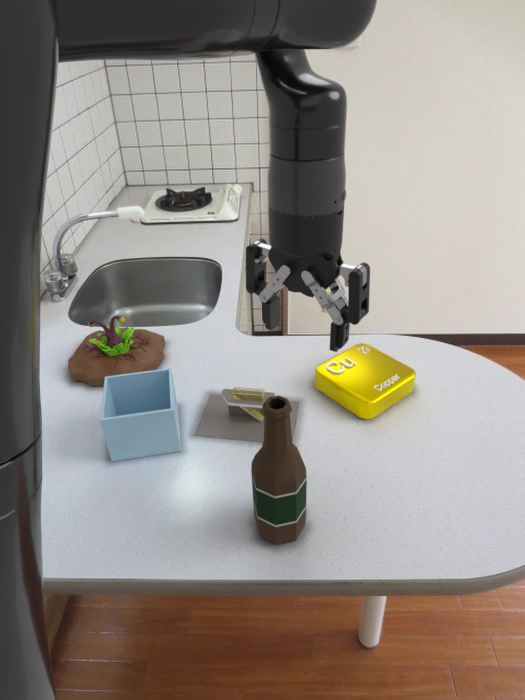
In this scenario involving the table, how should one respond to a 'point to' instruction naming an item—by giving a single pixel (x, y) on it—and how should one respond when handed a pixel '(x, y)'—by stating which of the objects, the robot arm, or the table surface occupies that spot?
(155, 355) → the plant
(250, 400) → the platform
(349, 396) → the element tile
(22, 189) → the robot arm
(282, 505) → the beer bottle
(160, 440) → the case
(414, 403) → the table surface
